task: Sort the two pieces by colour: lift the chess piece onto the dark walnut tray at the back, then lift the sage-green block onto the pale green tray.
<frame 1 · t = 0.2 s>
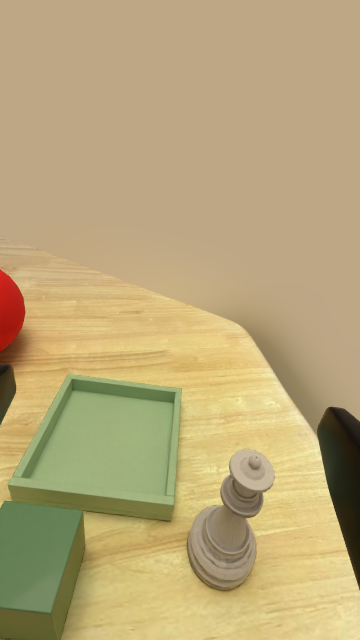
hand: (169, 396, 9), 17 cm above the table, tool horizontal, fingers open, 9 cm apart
green block: (35, 586, 18), on the table
green tray: (111, 443, 27), on the table
chess piece: (218, 551, 21), on the table
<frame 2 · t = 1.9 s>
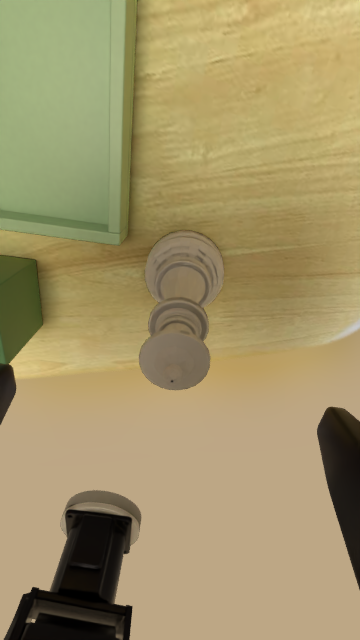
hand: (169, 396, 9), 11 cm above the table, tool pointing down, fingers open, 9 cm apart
green block: (3, 289, 19), on the table
green tray: (13, 99, 14), on the table
chess piece: (185, 266, 18), on the table
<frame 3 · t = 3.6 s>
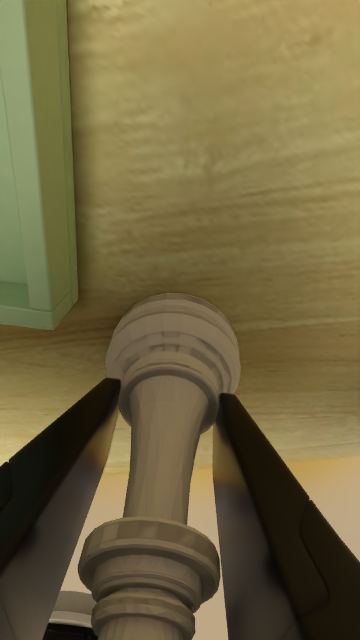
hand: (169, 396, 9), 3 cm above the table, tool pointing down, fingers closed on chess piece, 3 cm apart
chess piece: (175, 343, 11), on the table, touching gripper
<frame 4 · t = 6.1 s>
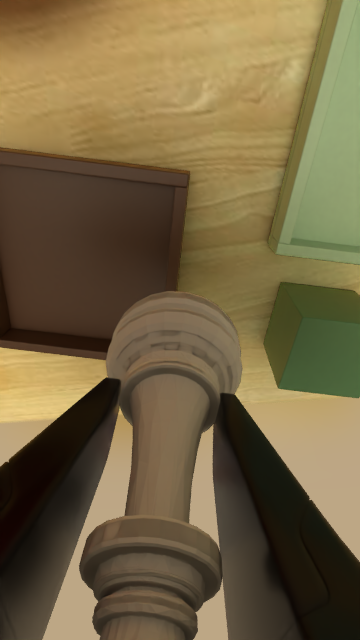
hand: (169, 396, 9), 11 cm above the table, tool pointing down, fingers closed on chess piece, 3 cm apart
green block: (306, 318, 20), on the table
walnut tray: (86, 261, 19), on the table
chess piece: (176, 342, 11), point 8 cm above the table, touching gripper
when the fingers open (3 cm above the table, at t = 8.7 s): chess piece stays where it is, resting on walnut tray.
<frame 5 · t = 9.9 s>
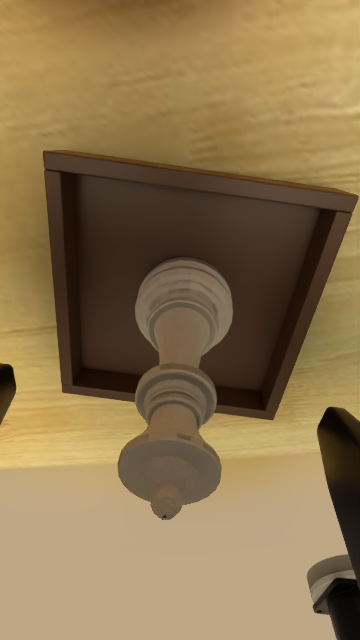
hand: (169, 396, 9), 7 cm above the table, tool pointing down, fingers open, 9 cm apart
walnut tray: (183, 293, 15), on the table
chess piece: (185, 298, 15), resting on walnut tray
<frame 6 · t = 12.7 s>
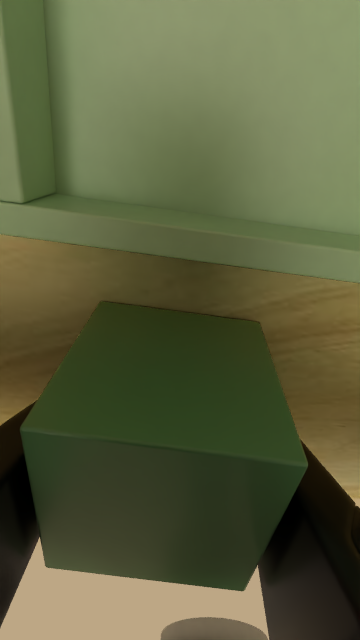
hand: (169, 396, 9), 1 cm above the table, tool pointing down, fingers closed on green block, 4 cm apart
green block: (171, 373, 10), on the table, touching gripper
when the fingers open (2 cm above the table, at t = 17.6 s): green block stays where it is, resting on green tray.
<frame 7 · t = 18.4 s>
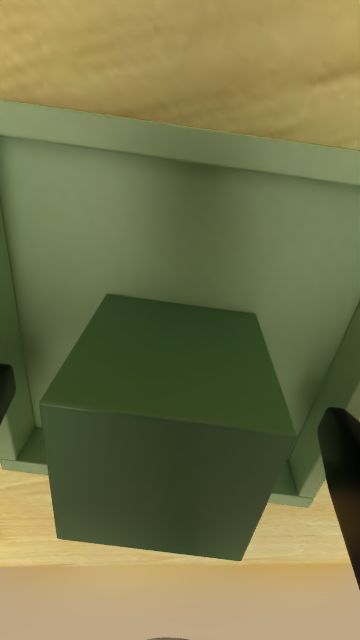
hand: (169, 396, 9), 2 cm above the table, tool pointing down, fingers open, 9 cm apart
green block: (173, 363, 10), point 1 cm above the table, touching green tray
green tray: (178, 328, 10), on the table
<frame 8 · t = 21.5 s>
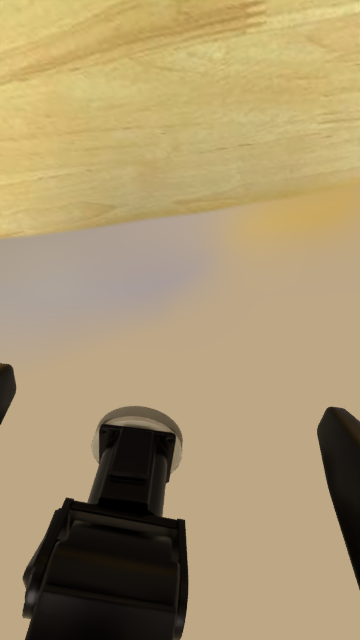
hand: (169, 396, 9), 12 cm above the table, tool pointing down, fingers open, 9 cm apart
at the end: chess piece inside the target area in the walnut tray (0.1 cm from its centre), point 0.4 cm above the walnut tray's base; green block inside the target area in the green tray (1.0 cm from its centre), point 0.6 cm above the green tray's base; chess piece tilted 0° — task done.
